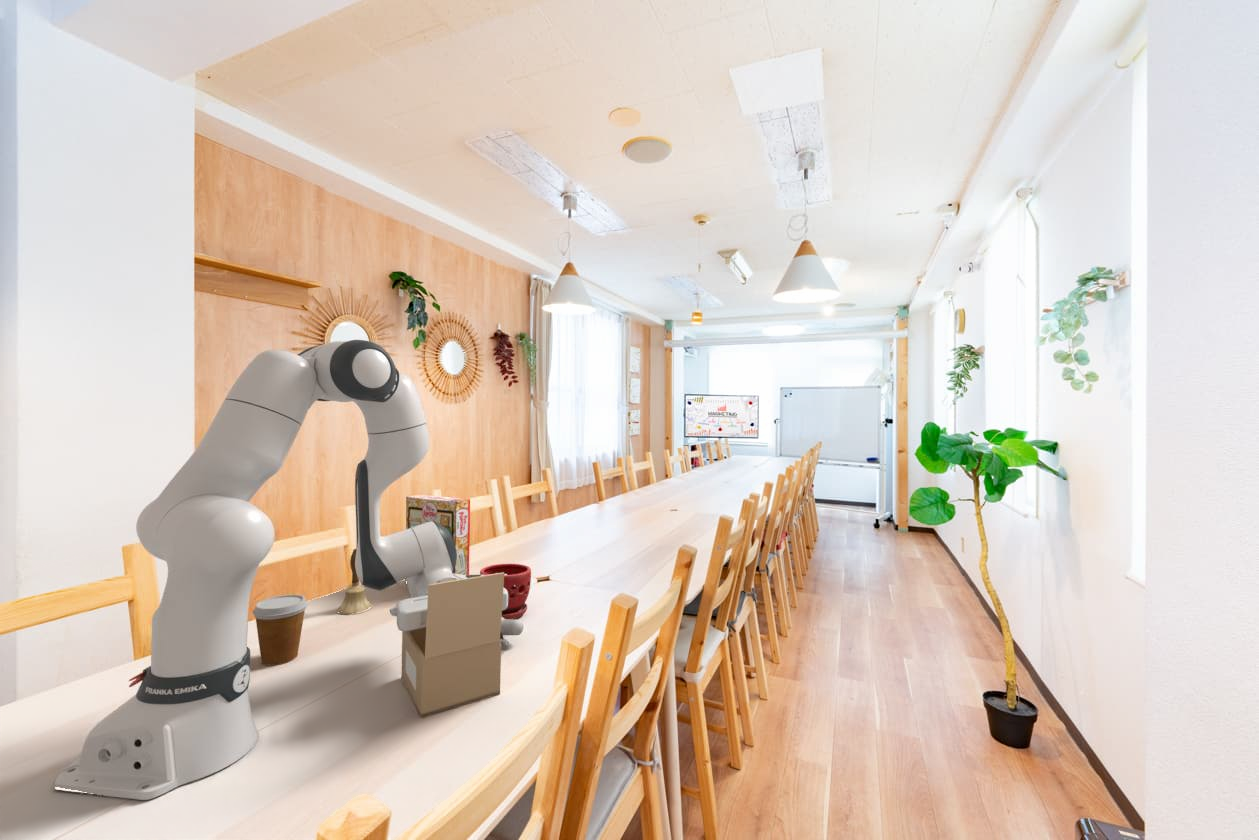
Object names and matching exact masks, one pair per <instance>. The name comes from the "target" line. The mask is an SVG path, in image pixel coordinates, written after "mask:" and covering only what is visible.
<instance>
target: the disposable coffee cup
mask: <svg viewBox="0 0 1259 840" xmlns="http://www.w3.org/2000/svg"><path fill="white" fill-rule="evenodd" d="M308 605H309V603H308V601H307V599H306V597H305V595H301V594H282V595H276V596H271V597H269V598H265V599H262V600H260V601H258V602H257V603H255V607H254V609H253V610H252V615H253V616H254V618H255V623H256V630H257V637H258V644H259V653H260V654H259V655H260V660H261V661H260V662H261V664H262V665H265V666H277V665H278V666H279V665H283V664H286V663H289V662H291V661H293V660H294V659H296V658H297V657H298V654H299V648H300V642H301V638H302V637H301V636H302V629H303V623H304V617H305V610H306V609H307V607H308Z"/></svg>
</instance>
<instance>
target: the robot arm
mask: <svg viewBox="0 0 1259 840" xmlns="http://www.w3.org/2000/svg"><path fill="white" fill-rule="evenodd" d="M390 355H391V354H389V353H388V352H387V351H386V349H385V348H384V347H382V346H381V345H380V344H377V343H375V342H373V341H371V340H370V341H369V340H363V339H351V340H346V341H340V340H339V341H336V340H335V341H331V342H327V343H326V342H325V343H322V344H320V345H316V346H315V345H314V346H311V347H309V348H306V349H304V350H303V351H301V352H299V353H298V354H297V353H294V352H291V351H287V350H282V349H268V350H265V351H262V352H260V353H258V355H256V356H255V357H254V358H253V359H252V360H251V361H250V363H248V365H246V367H245V369H244V370H243V371H242V372H241V374H240V375H239V377H237V378H236V380H235V382H234V384H233V385H232V386H231V388H230V389H229V391H228V393H227V395H226V396H225V398H224V400H223V402H222V403H221V405H220V407H219V409H218V411H217V413H216V414H215V416H214V418H213V420H212V422H211V423H210V425H209V427H208V428H207V431H206V432H205V434H204V436H203V437H202V438H201V441H200V443H199V444H198V446H197V447H196V448H195V450H194V452H193V453H192V454H191V456H190V457H189V458H188V459H187V461H186V462H185V463H184V464H183V465H182V467H181V468H180V469H179V470H178V471H177V473H176V474H175V475H174V476H173V477H172V478H171V480H169V482H168V483H167V485H166V486H165V487H164V489H163V490H162V491H161V493H159V495H158V497H157V498H155V499H154V500H152V501H151V502H149V504H147V505H146V506H145V507H144V509H143V510H142V511H141V512H140V514H139V515H138V517H137V521H136V528H135V529H136V535H137V538H138V539H139V541H140V543H141V545H142V547H143V548H144V549H145V551H147V553H149V554H150V555H152V556H153V557H155V558H157V559H160V560H162V561H164V562H166V565H167V578H166V582H165V586H164V590H163V594H162V596H161V600H160V603H159V606H158V607H157V608H156V609H155V611H154V613H153V615H152V618H151V643H150V644H151V646H150V647H151V649H150V655H151V656H150V666H147V667H146V668H144V669H143V670H142V672H140V673H139V674H137V675H134V676H133V677H132V678H130V679H128V682H131V683H130V684H129V685H128V688H131V687H134V686H135V685H137V684H139V683H140V685H139V687H138V690H137V691H136V694H134V695H133V696H131V698H129V699H128V700H126V701H125V702H124V703H122V704H121V705H120V706H119V707H117V708H115V710H113V711H112V712H111V713H110V714H108V715H107V716H105V717H104V718H102V720H100V721H99V722H98V723H96V725H94V727H93V728H92V729H91V730H90V731H89V733H88V734H87V736H86V738H85V740H84V743H83V745H82V749H81V754H80V756H79V757H77V758H76V759H75V760H73V761H72V762H71V763H70V764H69V765H67V766H66V767H65V768H64V769H63V770H62V771H61V773H59V774H58V776H57V777H56V780H55V782H54V785H53V787H54V786H55V787H60V788H65V789H71V790H78V791H82V792H87V793H93V794H97V795H96V796H102V795H103V797H104V796H105V797H113V798H121V799H131V800H141V801H147V800H151V799H155V798H157V797H158V796H161V795H163V794H166V793H168V792H170V791H171V790H174V789H175V788H177V787H179V786H181V785H182V786H183V785H185V784H188V783H191V782H195V781H197V780H199V779H200V780H201V779H202V778H205V777H207V776H210V775H212V774H214V773H217V772H219V771H221V770H223V769H225V768H226V767H228V766H230V765H232V764H234V763H235V762H237V761H238V760H240V759H241V758H242V757H244V756H245V755H247V753H249V752H250V751H251V750H252V749H253V747H254V746H255V745H256V743H257V741H258V739H259V733H258V730H257V727H256V725H255V722H254V718H253V714H252V710H251V704H250V703H251V702H250V696H249V684H250V677H251V649H250V647H249V646H248V629H249V628H248V626H249V623H248V622H249V604H250V598H251V592H252V588H253V585H254V581H255V579H256V574H257V572H258V569H259V566H260V564H261V563H262V561H263V560H264V559H266V557H267V556H268V554H269V553H271V552H270V551H271V550H272V549H273V545H274V542H275V536H276V535H275V533H276V532H275V527H274V525H273V522H272V521H271V520H272V519H270V517H269V516H268V515H266V514H265V512H264V511H262V510H261V509H260V508H258V507H257V506H255V505H254V504H253V503H251V502H250V501H251V500H252V499H253V497H254V496H255V494H256V493H257V492H258V491H259V490H260V488H261V487H262V486H264V484H265V483H266V482H267V481H268V480H269V479H271V478H272V477H273V476H275V475H276V474H277V473H278V472H279V471H280V470H281V469H282V467H283V465H284V462H285V460H286V459H287V457H288V455H289V453H290V451H291V448H292V446H293V445H294V442H295V441H296V438H297V436H298V433H300V432H299V431H300V430H301V427H302V426H303V424H304V421H305V419H306V416H307V413H308V411H309V410H311V409H310V408H311V407H312V405H314V404H315V403H316V402H317V401H318V402H338V403H348V402H351V403H352V402H353V403H354V404H356V406H357V407H358V408H359V409H360V411H361V413H362V415H363V417H364V423H365V428H366V434H367V439H368V442H367V443H368V446H367V451H366V454H365V457H364V458H363V459H362V460H361V461H360V462H359V463H357V465H356V470H355V479H354V480H355V481H354V483H355V484H354V490H355V491H354V493H355V494H354V495H355V497H354V499H355V501H354V502H355V525H356V526H355V527H356V528H355V529H356V534H355V535H356V548H355V549H356V558H355V569H356V574H357V576H358V579H359V583H360V584H361V586H362V587H364V588H365V587H366V588H368V589H371V590H375V591H380V592H381V591H383V590H386V589H387V588H389V587H391V586H394V585H395V584H398V583H399V582H401V581H405V579H407V580H406V581H407V584H406V586H407V589H408V593H409V595H410V596H411V597H410V598H405V599H402V600H400V601H398V602H397V604H396V605H395V606H391V607H390V608H389V613H390V615H391V616H392V617H396V626H397V629H398V630H399V631H401V632H402V631H411V630H416V629H420V628H425V627H426V622H427V603H428V584H435V583H441V582H447V581H453V580H459V579H465V578H472V577H478V576H484V575H480V574H469V575H461V574H453V573H452V570H453V569H454V567H455V564H456V560H457V552H456V547H455V543H454V540H453V538H452V536H451V534H450V532H449V531H448V530H447V529H446V528H445V527H444V526H442V525H441V524H439V523H437V522H435V521H430V522H427V523H423V524H420V525H417V526H414V527H411V528H409V529H406V528H405V529H403V530H400V531H397V532H395V533H394V532H393V533H391V534H387V535H384V536H382V535H381V516H380V515H381V514H380V513H381V512H380V511H381V509H380V503H381V502H380V500H381V498H382V495H383V493H384V492H385V490H386V489H388V488H389V486H390V485H392V484H393V483H395V481H398V480H399V479H400V478H401V477H403V476H404V475H406V474H407V473H409V472H411V471H412V470H413V469H415V467H417V466H418V465H419V464H420V463H421V462H422V460H423V459H424V458H425V456H426V455H427V453H428V451H429V448H430V436H429V431H428V424H427V419H426V415H425V412H424V408H423V404H422V401H421V398H420V396H419V394H418V391H417V389H416V387H415V384H414V382H413V381H412V379H411V378H410V377H409V376H407V375H405V374H403V373H400V372H399V370H398V369H397V367H396V365H395V363H394V361H393V359H392V357H391V356H390ZM507 607H508V591H507V590H506V589H505V588H504V587H503V602H502V611H503V610H505V609H506V608H507ZM93 794H92V795H93Z"/></svg>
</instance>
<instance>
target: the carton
mask: <svg viewBox="0 0 1259 840" xmlns="http://www.w3.org/2000/svg"><path fill="white" fill-rule="evenodd" d="M401 633H402V634H401V638H402V639H401V675H400V676H401V677H400V678H401V681H402V682H403V684H404V686H405V688H406V690H407V693H408V695H409V697H410V698H411V701H412V703H413V705H414V707H415V709H416V711H417V713H418V715H419V717H420V719H423V718H426V717H429V716H433V715H436V714H439V713H442V712H445V711H449V710H452V709H455V708H458V707H462V706H466V705H467V704H472V703H475V702H478V701H481V700H485V699H488V698H491V697H494V696H497V695H498V696H499V695H500V694H501V670H502V669H501V666H502V664H501V663H502V661H501V660H502V643H501V640H500V641H497V642H493V643H488V644H484V645H480V646H476V647H472V648H468V649H464V650H460V651H455V652H451V653H447V654H443V655H439V656H435V657H431V658H427V659H425V642H426V627H425V628H420V629H416V630H411V631H401Z"/></svg>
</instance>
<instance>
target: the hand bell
mask: <svg viewBox="0 0 1259 840" xmlns="http://www.w3.org/2000/svg"><path fill="white" fill-rule="evenodd" d="M351 553H352V554H351V555H350V556H351V557H350V559H349V560H350V563H349V564H350V569H351V574H352V576H351V586H350V587H347V588H346V589H345V592H344V594H345V595H344V597H343V601H342V603H341V604H340V605H339V606H338V607H337V609H336V613H337V612H339V613H341V614H340V615H343V614H352V613H357V612H361V611H364V610H366V609H368V608H369V607H371V605H372V603H371V602H369V601H368V598H367V596H366V592H365V591H366V589H365V586H363V585H360V580H359V579H358V576H357V574H356V569H355V558H356V548H354V549H352V552H351ZM339 613H338V614H339ZM352 615H353V614H352Z"/></svg>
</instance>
